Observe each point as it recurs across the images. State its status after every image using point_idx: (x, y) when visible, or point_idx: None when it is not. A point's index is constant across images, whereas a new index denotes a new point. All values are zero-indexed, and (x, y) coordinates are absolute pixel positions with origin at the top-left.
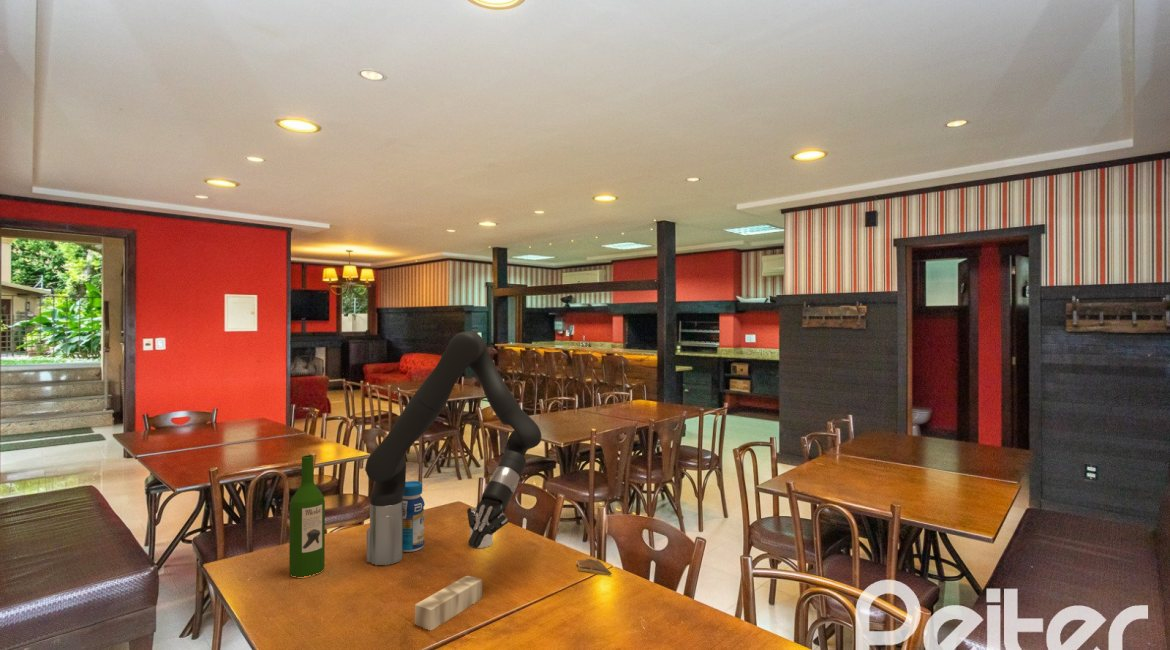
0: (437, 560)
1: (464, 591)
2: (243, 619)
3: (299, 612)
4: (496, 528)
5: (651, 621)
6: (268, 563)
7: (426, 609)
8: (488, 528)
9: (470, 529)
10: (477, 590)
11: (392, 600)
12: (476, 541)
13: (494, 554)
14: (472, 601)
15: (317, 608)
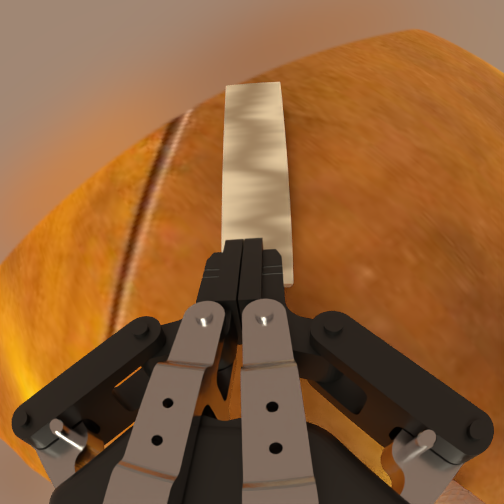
0: (483, 379)
1: (222, 196)
2: (478, 57)
3: (464, 80)
4: (119, 392)
5: None
6: None
7: (240, 85)
8: (129, 330)
9: (473, 495)
10: None
11: (414, 161)
12: (217, 264)
13: None
14: None
15: (463, 94)
